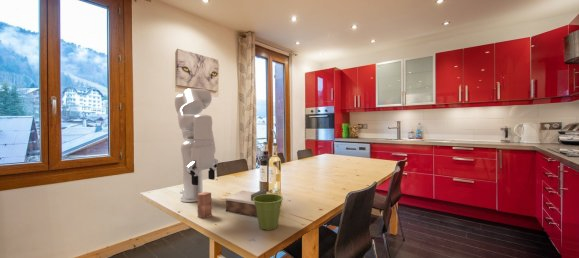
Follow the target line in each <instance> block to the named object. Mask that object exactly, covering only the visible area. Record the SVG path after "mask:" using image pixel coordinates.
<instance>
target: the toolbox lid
mask: <svg viewBox="0 0 579 258" xmlns="http://www.w3.org/2000/svg"><path fill="white" fill-rule="evenodd" d="M262 194H268V192H267V189H263V188H262V189H260V190H258V191H250V190H249V191H247V190H241V191H239V192H235V194H231V195H229V196H227V197H225V201H226V200H228V201H235V202H241V203H247V204H254V205H255V203H254V201H253V198H254V197H255V196H258V195H262Z"/></svg>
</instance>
